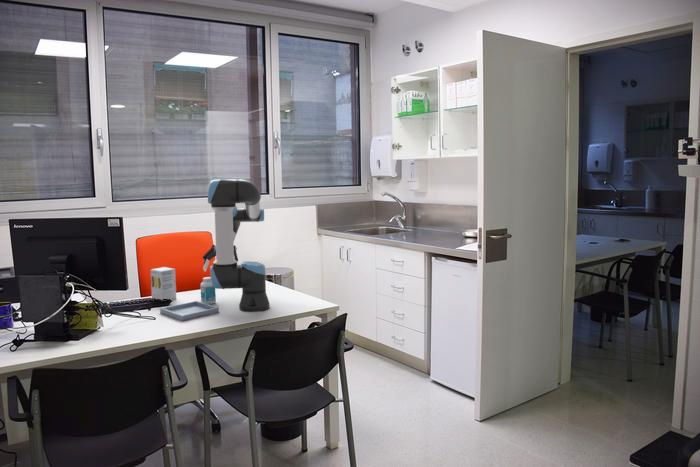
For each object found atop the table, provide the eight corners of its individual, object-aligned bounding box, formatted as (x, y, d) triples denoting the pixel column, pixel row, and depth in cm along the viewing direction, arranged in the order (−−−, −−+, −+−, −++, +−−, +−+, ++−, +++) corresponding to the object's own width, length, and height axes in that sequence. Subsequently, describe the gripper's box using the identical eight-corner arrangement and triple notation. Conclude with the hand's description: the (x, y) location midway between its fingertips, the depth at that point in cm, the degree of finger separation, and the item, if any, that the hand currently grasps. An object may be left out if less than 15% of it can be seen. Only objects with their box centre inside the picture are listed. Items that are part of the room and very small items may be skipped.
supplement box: (151, 300, 289) (149, 269, 287) (165, 296, 297) (164, 266, 295) (162, 302, 284) (160, 271, 282) (177, 299, 291) (175, 268, 289)
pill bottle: (217, 301, 286) (217, 276, 285) (212, 305, 279) (212, 279, 277) (204, 301, 287) (203, 276, 285) (198, 304, 280) (198, 279, 278)
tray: (218, 312, 265) (218, 307, 264) (182, 321, 250) (181, 315, 250) (196, 305, 278) (196, 300, 278) (160, 313, 263) (160, 308, 263)
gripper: (250, 244, 304) (239, 275, 291) (209, 242, 309) (197, 273, 296) (246, 235, 298) (235, 267, 285) (204, 234, 303) (192, 265, 291)
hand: (215, 270), depth 291 cm, fingers open, 13 cm apart
